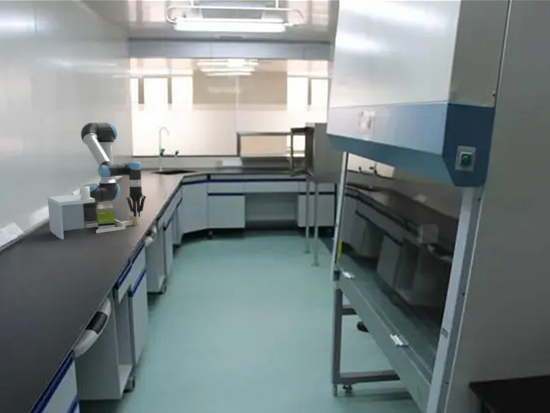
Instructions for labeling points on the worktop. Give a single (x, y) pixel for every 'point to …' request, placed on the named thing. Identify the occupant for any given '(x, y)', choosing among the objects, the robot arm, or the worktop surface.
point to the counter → (66, 213)
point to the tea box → (105, 216)
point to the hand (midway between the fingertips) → (137, 222)
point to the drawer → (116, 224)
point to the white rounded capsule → (85, 192)
